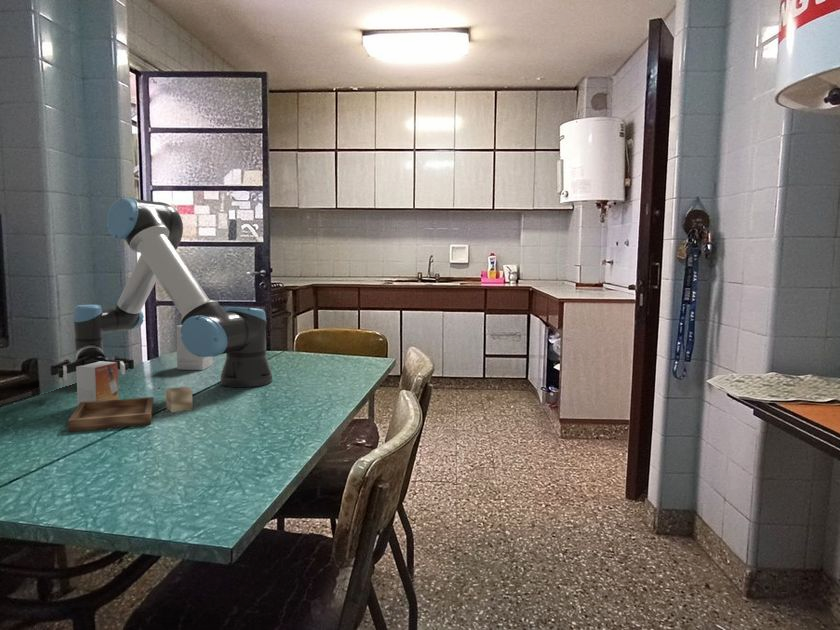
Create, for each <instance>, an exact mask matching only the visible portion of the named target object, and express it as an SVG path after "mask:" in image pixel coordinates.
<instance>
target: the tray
mask: <svg viewBox="0 0 840 630" xmlns="http://www.w3.org/2000/svg"><path fill="white" fill-rule="evenodd" d="M154 402H155V401H154V396H150V397H149V396H148V397H135V398H123V399H120V398H119V400H106V401H92V402H80V404H79V405H78V404H77V407H76V408H75V410H74V411H73V413H72V414H71V416H70V417H69V419H68V421H67V424H68V425H67V426H68V432H69V433H72V432H74V433H75V432H82V431H84V430H85V431H94V430H105V429H115V428H118V429H119V428H125V427H126V428H129V427H137V426H140V427H141V426H146V425H147V426H149V425H151V424H152V419H153V413H154V408H155V407H154V406H155V403H154ZM85 431H84V432H85Z"/></svg>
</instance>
